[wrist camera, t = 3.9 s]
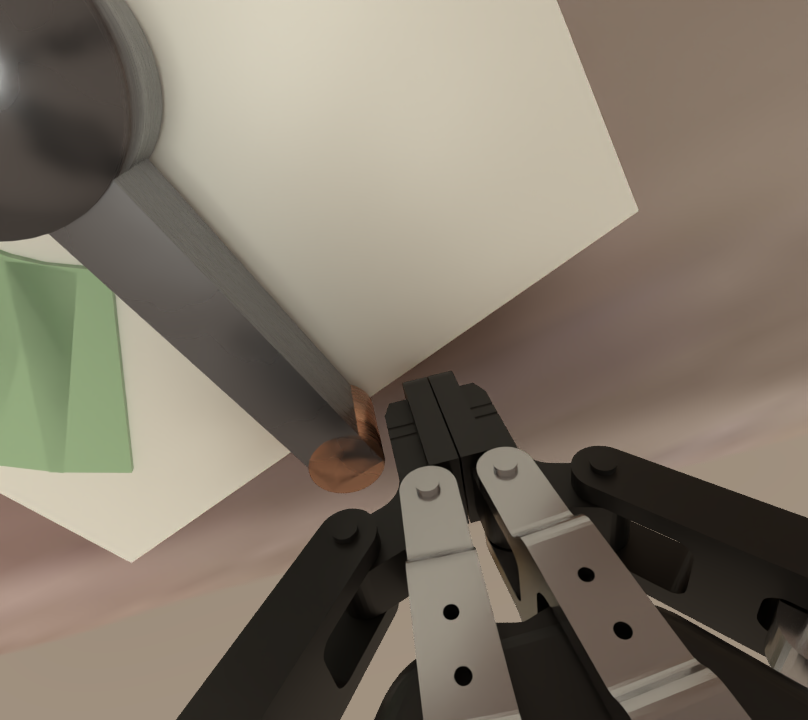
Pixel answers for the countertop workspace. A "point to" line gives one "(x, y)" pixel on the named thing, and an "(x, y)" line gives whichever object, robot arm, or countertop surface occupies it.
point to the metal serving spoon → (157, 228)
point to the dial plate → (304, 232)
